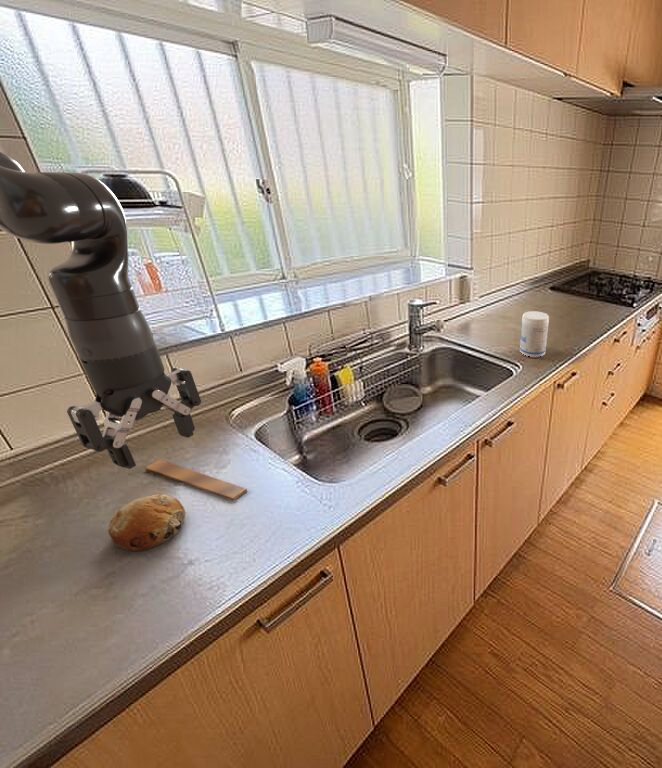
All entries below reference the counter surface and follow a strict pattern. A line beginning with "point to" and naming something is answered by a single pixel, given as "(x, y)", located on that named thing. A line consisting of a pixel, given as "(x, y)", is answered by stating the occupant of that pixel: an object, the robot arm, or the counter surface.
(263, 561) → the counter surface
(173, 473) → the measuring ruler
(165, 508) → the bread roll
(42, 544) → the counter surface
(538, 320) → the supplement tub
